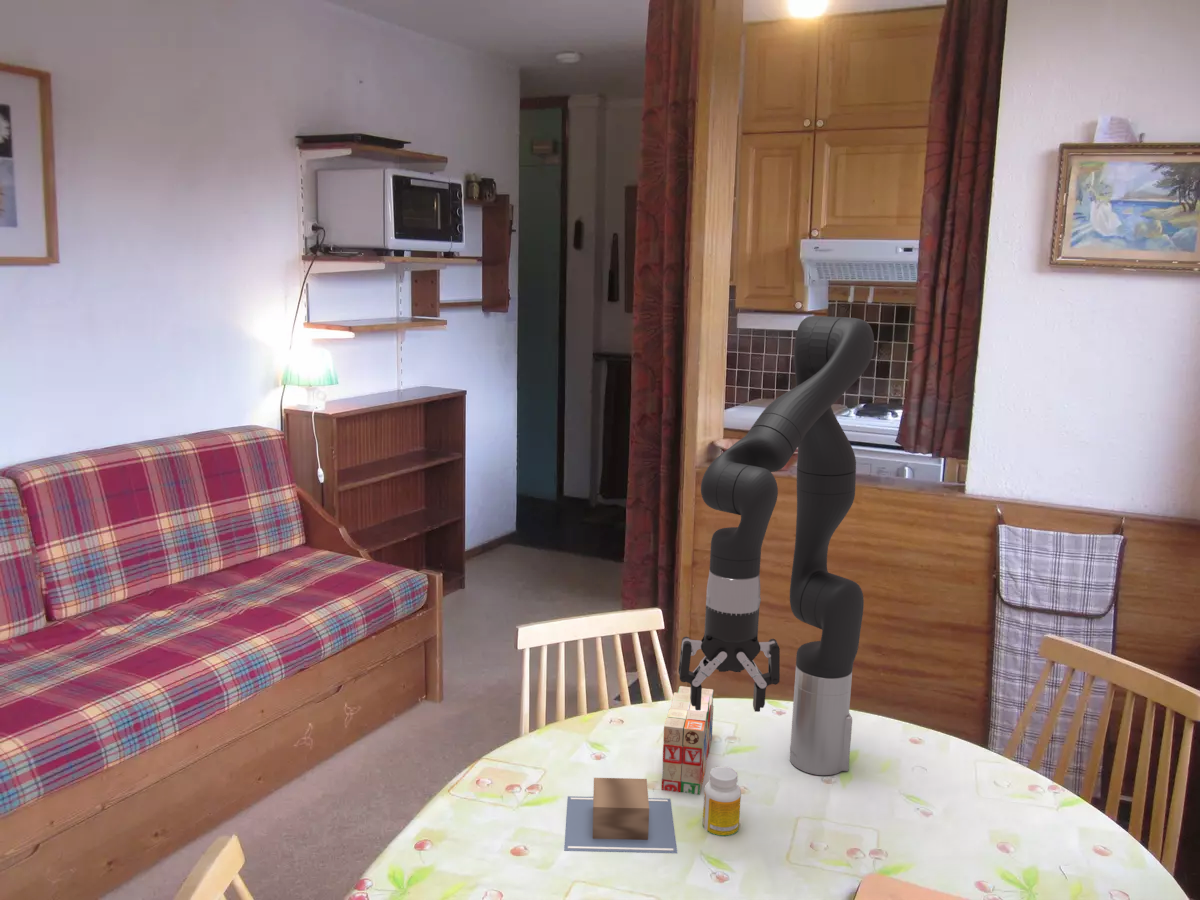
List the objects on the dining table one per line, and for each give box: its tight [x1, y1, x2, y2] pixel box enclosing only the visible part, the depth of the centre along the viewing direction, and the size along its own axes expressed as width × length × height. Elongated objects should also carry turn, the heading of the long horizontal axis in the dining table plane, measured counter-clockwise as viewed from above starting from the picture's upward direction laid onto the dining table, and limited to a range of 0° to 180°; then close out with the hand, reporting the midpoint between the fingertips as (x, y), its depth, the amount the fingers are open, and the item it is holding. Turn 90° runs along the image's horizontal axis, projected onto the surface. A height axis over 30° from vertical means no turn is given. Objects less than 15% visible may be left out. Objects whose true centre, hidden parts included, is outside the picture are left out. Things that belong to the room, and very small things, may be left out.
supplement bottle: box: [702, 765, 742, 837], centre depth 141 cm, size 5×5×10 cm
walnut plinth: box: [592, 777, 649, 840], centre depth 141 cm, size 8×8×5 cm
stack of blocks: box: [661, 685, 714, 796], centre depth 160 cm, size 21×6×12 cm, turn 168°
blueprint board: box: [563, 795, 678, 854], centre depth 142 cm, size 16×14×1 cm
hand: (726, 708), depth 138 cm, fingers open, 8 cm apart
